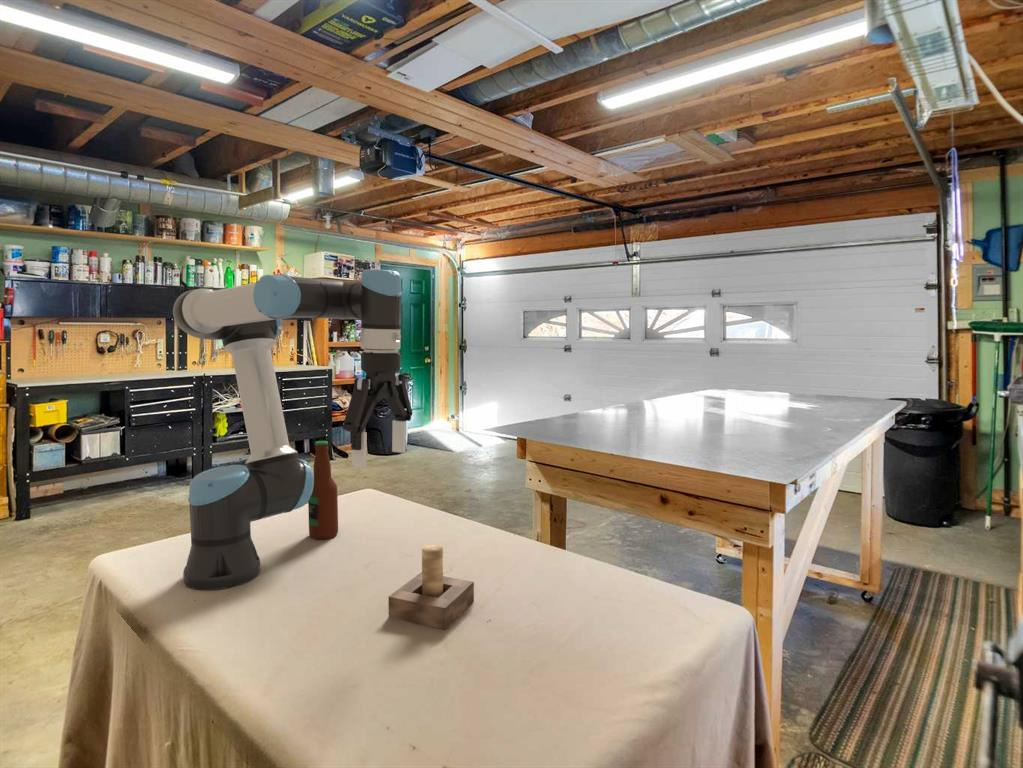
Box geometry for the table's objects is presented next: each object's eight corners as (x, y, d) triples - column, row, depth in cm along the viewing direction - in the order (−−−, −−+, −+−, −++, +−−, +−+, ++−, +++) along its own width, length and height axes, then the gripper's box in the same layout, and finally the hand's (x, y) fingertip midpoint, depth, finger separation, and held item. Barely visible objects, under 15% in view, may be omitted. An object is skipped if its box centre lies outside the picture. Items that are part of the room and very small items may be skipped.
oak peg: (418, 611, 111) (417, 550, 110) (428, 602, 115) (428, 543, 114) (436, 615, 110) (436, 554, 109) (446, 606, 114) (446, 546, 113)
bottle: (317, 530, 157) (314, 438, 154) (342, 531, 156) (341, 439, 153) (303, 539, 149) (301, 443, 147) (330, 541, 148) (328, 444, 146)
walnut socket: (388, 617, 109) (388, 596, 109) (421, 590, 120) (421, 572, 120) (445, 629, 105) (445, 608, 104) (473, 601, 116) (473, 581, 116)
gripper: (358, 354, 99) (357, 476, 102) (429, 349, 122) (428, 448, 125) (322, 352, 102) (322, 470, 104) (399, 348, 125) (397, 444, 127)
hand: (380, 458), depth 115 cm, fingers open, 13 cm apart
